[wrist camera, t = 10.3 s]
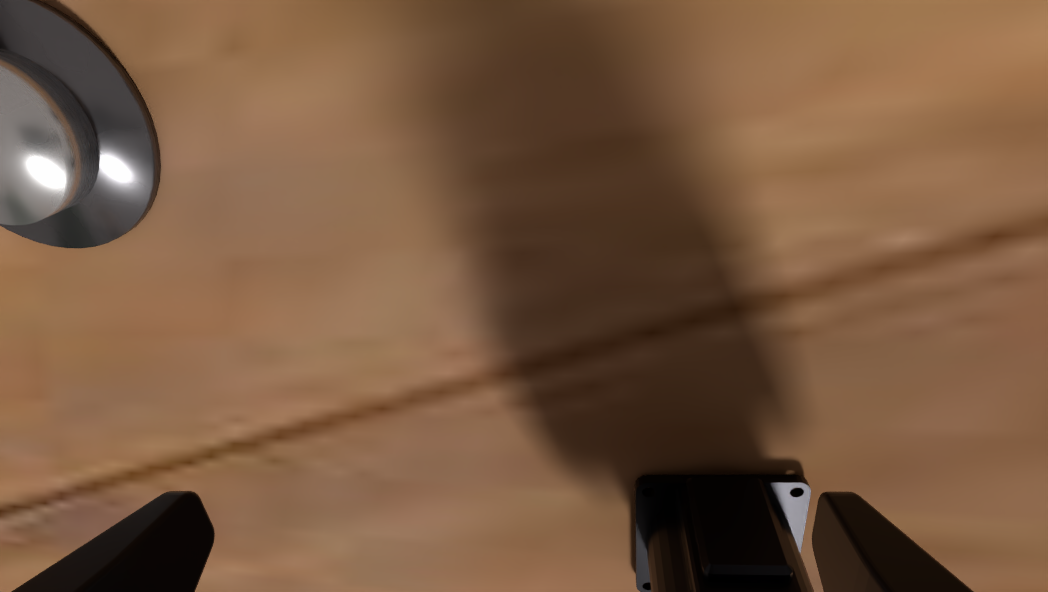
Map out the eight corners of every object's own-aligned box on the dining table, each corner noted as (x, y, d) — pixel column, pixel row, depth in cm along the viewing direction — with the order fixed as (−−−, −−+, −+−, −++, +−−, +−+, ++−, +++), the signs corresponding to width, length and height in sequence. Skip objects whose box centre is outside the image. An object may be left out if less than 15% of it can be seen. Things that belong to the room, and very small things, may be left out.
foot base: (195, 237, 21) (188, 242, 20) (-11, 249, 22) (-22, 253, 21) (98, -26, 17) (88, -26, 17) (-145, 2, 18) (-160, 2, 18)
